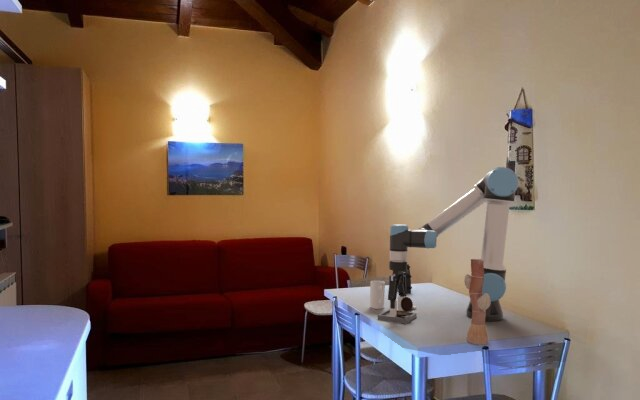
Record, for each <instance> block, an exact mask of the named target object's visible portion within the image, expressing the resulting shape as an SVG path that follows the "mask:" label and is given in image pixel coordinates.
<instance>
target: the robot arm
mask: <svg viewBox="0 0 640 400" xmlns="http://www.w3.org/2000/svg"><path fill="white" fill-rule="evenodd" d="M518 187H519V178H518V175H517V174H516V173H515V171H513V170H512V169H511V168H509V167H504V166H498V167H495V168H493V169H492V170H490V171H488V172H487V173H486V174H485V175H484V176H483V178H481V179H480V180H479V181H478V182H477V183H476V184H474V185H473V189H471V190H469V192H467V193H465V194H464V195H463V196H462V197H460V198H458V199H457V200H456V201H455V202H454V203H452V204H451V205H449V206H448V207H447V208H446V209H444V210H443V211H441V212H440V213H439V214H437V215H436V216H434V217H433V218H432V219H431V220H429V221H428V222H426V223H425V224H424V225H422V226H421V227H418V228H417V229H409V226H408V224H402V223H400V224H398V223H397V224H392V225H391V226H390V231H389V252H388V255H389V263H388V264H389V265H388V269H389V270H390V271H392V273H391V275H389V279H388V280H389V282H388V291H387V292H388V293H387V300H388V301H389V309H390V316H397V310H398V311H404V310H403V309H402V307H401V300H402V299H403V298H404V297H408V295H407V294H408V293H407V291H406V272H403V271H406V270H407V264H408V254H409V253H408V248H418V249H419V248H421V249H436V248H437V238H438V237H439V236H441V234H443V233H444V232H446V231H447V230H448V229H450V228H452V227H453V226H454V225H455V224H457V223H458V222H460V221H461V220H462V219H464V218H465V217H466V216H468V215H470V214H471V213H472V212H473V211H475V210H476V209H477V208H479V207H480V206H482V205H483V204H484V203H486V211H485V219H484V220H485V221H484V229H483V238H482V247H481V254H480V259H482V260H483V261H484V262H483V264H484V280H483V287H482V295H483V294H485V293H487V294H488V295H489V297H490V300H491V304H490V307H489V308H488V309H486V317H485V322H496V321H502V320H503V319H504V312H503V309H502V306H501V303H500V299H502V298H503V296H504V295H505V293H506V291H507V284H506V283H507V282H506V275H507V274H506V273H507V267H506V266H504V257H505V256H504V255H505V248H506V240H507V230H508V222H509V215H510V206H511V205H513V204H514V203H515V197H516V191H517V189H518ZM397 295H398V296H397ZM465 316H466V317H468V318H470V319H472V304H471V300H470V299H469V302H468V305H467V308H466V315H465Z"/></svg>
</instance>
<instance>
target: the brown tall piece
mask: <svg viewBox="0 0 640 400" xmlns="http://www.w3.org/2000/svg"><path fill="white" fill-rule="evenodd" d="M483 262H484V261H483V260H482V259H481V258H480V259H479V258H476V259H475V258H472V259H470V272H471V275H470V274H469V273H468V274H466V275H465V276H464V281H463V282H464V286H465V287H466V289H467V290H468V295H469V301H470V300H471V304H472V318H471V323H470V325H469V329H468V331H467V334H466V341H467V343H469V344H473V345H478V346H485V345H488V343H489V335H488V331H487V327H486V321H485V317H486V309H488V308H489V307H490V304H491V300H490V297H489V295H488V294H487V293H485V294H483V295H482V287H483V280H484V264H483Z"/></svg>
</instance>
